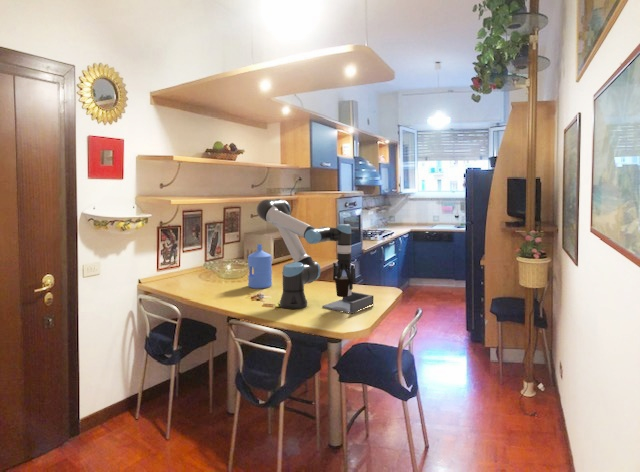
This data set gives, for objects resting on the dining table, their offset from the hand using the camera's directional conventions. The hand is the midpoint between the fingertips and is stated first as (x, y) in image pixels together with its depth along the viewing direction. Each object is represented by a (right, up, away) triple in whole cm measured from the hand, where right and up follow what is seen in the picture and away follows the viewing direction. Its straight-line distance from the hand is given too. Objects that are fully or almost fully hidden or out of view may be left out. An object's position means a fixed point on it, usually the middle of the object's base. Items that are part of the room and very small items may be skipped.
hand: (344, 294), depth 234 cm
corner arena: (+3, -7, 0) cm, 8 cm away
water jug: (-53, -2, +51) cm, 74 cm away
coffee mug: (0, -1, 0) cm, 1 cm away
